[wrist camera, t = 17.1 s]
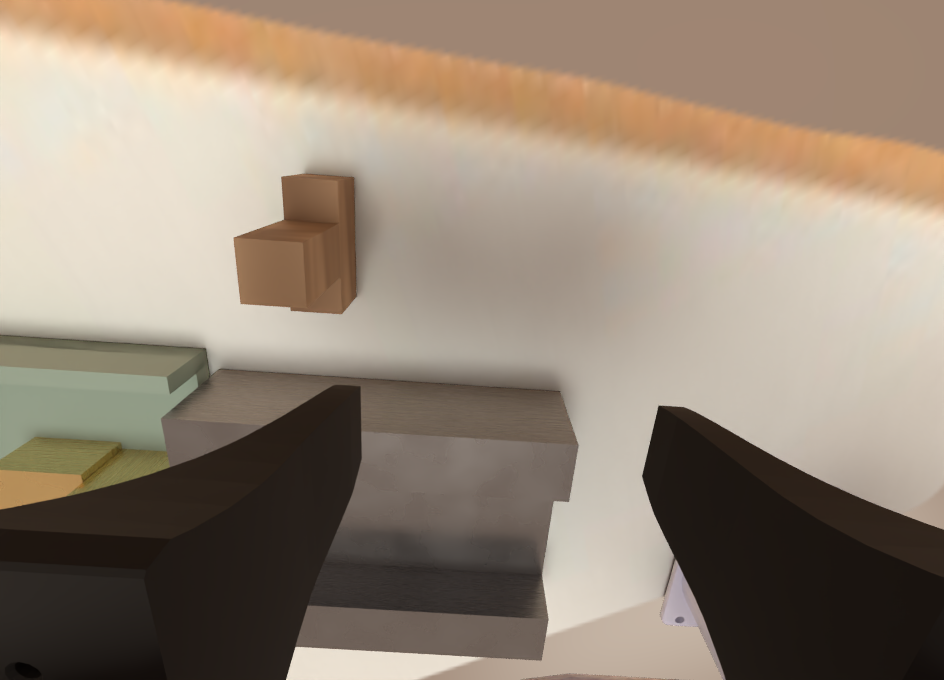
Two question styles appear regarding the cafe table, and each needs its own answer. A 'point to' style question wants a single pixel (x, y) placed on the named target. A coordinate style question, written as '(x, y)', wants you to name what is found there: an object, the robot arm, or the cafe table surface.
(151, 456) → the tan square block
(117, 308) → the cafe table surface
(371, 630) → the grey open tray
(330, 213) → the stepped wooden block
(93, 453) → the tan wooden square block
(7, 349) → the tray
